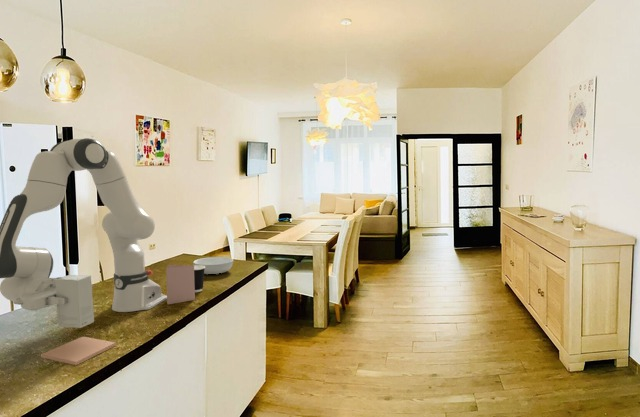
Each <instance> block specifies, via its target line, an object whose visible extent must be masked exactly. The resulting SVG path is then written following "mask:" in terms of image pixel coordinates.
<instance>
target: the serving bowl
mask: <svg viewBox="0 0 640 417" xmlns="http://www.w3.org/2000/svg"><path fill="white" fill-rule="evenodd" d="M192 263H193V265H194V266H195V265H202V266H205V269H204V275H208V274H216V275H220V274H219V273H221V274H222V273H227V271H229V270H231V268H232V267H233V264H234V259H233V258H231V257H225V256H212V257H210V256H209V257H203V258H198V259H195V260H194V261H192Z"/></svg>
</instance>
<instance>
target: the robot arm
mask: <svg viewBox="0 0 640 417" xmlns="http://www.w3.org/2000/svg"><path fill="white" fill-rule="evenodd" d="M84 170H87V171H88V172H89V174H90V175H91V177H92V181H93V182H94V185H95V188H96V191H97V193H98V195H99V198H100V200H101V202H102V204H103V205H104V206H105V207H106V208H107V209H108V210H109V211H110V212H108V213H106V214H105V215H104V217H103V218H102V221H101V227H102V229H103V230H104V232H105V234H106V235H107V237H108V240H109V244H110V247H111V249H112V254H113V262H114V263H113V265H114V274H113V283H114V287H113V288H114V291H113V301H112V303H111V304H112V305H111V310H112V311H113V312H118V313H128V312H129V313H130V312H136V311H137V312H138V311H144V310H145V311H146V310H151V309H152V308H154V307H156V306H158V305H159V304H161V303H163V302H165V301H167V294H163V293H162V288H161V286H160V285H159V284H158V283H156V282H155V281H153V280H152V279H150V278H149V276H153V274H154V272H153V270H150V269H149V270H146V269H145V264H146V263H145V252H144V250H143V249H142V247H141V246H140V244H139V240H145V239H148V238H149V237H151V236H152V235H153V233H154V231H155V221H154V219H153V217H151V216H150V215H149V214H148V213H146V211H145V210H144V209H143V206H141V204H140V203H139V202H138V200H137V198H136V197H135V195H134V194H133V192H132V189H131V186H130V183H129V181H128V179H127V176H126V173H125V171H124V169H123V166H122V164H121V163H120V161H119V159H118V157H117V156H116V154H115V153H113V152H112V151H110V150H106V148H105V146H104V145H103V144H102V143H101V142H100V141H98V140H96V139H93V138H88V137H87V138H74V139H69V140H64V141H60V142H57V143H56V144H54V145H53V146H52V147H51V149H50V150H45V151H41V152H38V153H37V154H36V155H35V157H34V159H33V161H32V164H31V166H30V169H29V173H28V176H27V179H26V184H25V187H24V188H23V189H22V191H21V192H20V194H17V195H15V196H14V197H13V198H12V199H11V201H10V203H9V204H8V207H7V209H6V211H5V213H4V216H3V218H2V221H1V223H0V279H2V281H1V283H0V294H1V295H2V296H3V297H4V298H5V299H6V300H9V301H11V302H13V303H14V305H18V306H19V305H20V308H22V309H24V310H27V311H31V312H32V311H38V310H41V309H44V308H48V307H51V306H54V305H57V304H65V303H67V302H68V301H67V300H68V298H67V297H56V285H55V279H58V278H61V277H62V276H59V277H50V276H51V274H52V273H53V268H54V258H53V255H52V254H51V252H50V251H49V250H48V249H47V248H45V247H33V246H16V243H17V240H18V239H19V235H20V233H21V230H22V228H23V225H24V223H25V221H26V220H27V219H28V218H29V217H30V216H32V215H34V214H38V213H42V212H47V211H50V210H51V211H52V210H53V209H55V208H57V207H58V206H60V205H61V204H62V202H63V201H64V198H65V195H66V190H67V184H68V177H69V175H70V174H71V172H72V171H74V172H77V171H84ZM91 284H92V282H91ZM92 285H93V284H92Z"/></svg>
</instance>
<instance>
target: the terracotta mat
mask: <svg viewBox="0 0 640 417" xmlns="http://www.w3.org/2000/svg"><path fill="white" fill-rule="evenodd" d="M116 346H117V344H116V342H115V341H109V340H104V339H99V338H93V337H88V336H81V337H77V338H76V339H74V340H71V341H69V342H67V343H64V344H62V345H60V346H57V347H55V348H53V349H51V350H47V351H45V352H43V353H41V354H40V356H41V358H42V359H46V360H51V361H56V362H59V363H65V364H70V365H75V366H78V365H79V364H81V363H84V362H85V361H88V360H90V359H92V358H94V357H96V356H97V355H99V354H101V353H104V352H106V351H108V350H110V349H113V348H114V347H116Z"/></svg>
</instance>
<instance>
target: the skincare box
mask: <svg viewBox="0 0 640 417" xmlns="http://www.w3.org/2000/svg"><path fill="white" fill-rule="evenodd" d="M60 277H61V278H58V277H57V278H58V279H55V285H56V297H67V298H68V300H67V301H68V302H67V303H65V304H56V307H57V310H56V311H57V323H58V324H57V325H58V327H65V328H75V329H76V328H77V329H81V328H84V327H86V326H88V325H90V324H93V323H94V322H95V314H94V302H93V301H94V300H93V299H94V298H93V284H91V283H92V275H83V274H82V275H80V274H79V275H78V274H77V275H76V274H68V275H65V276H60Z"/></svg>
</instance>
